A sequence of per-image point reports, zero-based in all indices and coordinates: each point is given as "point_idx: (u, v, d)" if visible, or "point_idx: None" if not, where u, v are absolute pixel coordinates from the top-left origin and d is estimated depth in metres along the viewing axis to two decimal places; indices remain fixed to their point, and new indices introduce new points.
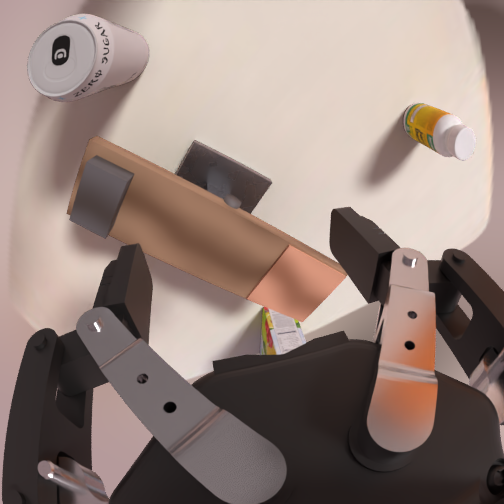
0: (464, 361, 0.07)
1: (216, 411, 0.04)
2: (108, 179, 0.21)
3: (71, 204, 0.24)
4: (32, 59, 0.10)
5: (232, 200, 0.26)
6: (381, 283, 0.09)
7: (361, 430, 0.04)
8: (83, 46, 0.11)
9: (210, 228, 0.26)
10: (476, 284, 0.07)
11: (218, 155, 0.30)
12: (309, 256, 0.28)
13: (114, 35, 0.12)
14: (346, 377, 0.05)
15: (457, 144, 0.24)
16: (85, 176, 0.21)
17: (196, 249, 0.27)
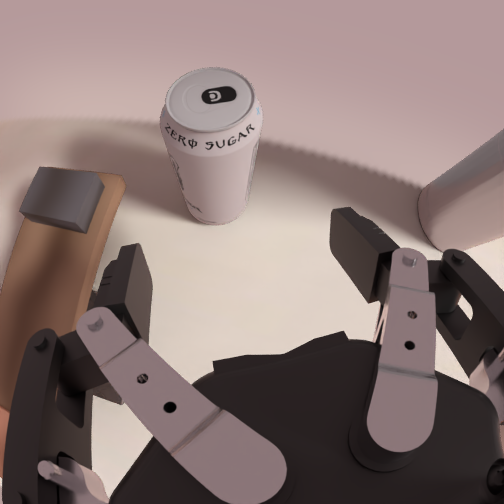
0: (464, 361, 0.07)
1: (216, 411, 0.04)
2: (77, 201, 0.17)
3: None
4: (209, 71, 0.14)
5: None
6: (381, 283, 0.09)
7: (361, 430, 0.04)
8: (224, 115, 0.14)
9: None
10: (476, 284, 0.07)
11: None
12: None
13: (241, 151, 0.15)
14: (346, 377, 0.05)
15: None
16: (81, 174, 0.18)
17: (18, 326, 0.16)
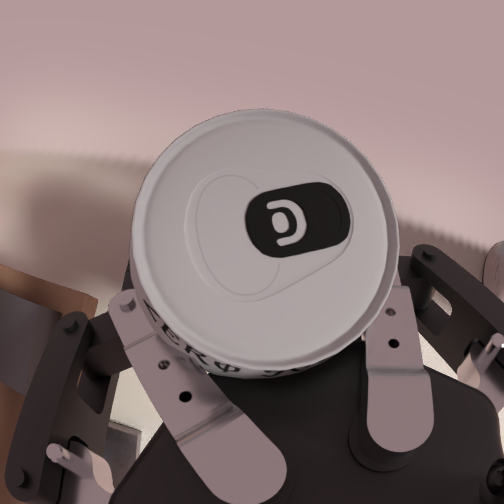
0: (447, 356, 0.07)
1: (230, 407, 0.04)
2: (20, 357, 0.08)
3: None
4: (260, 123, 0.05)
5: None
6: None
7: (361, 430, 0.04)
8: (324, 305, 0.05)
9: None
10: (452, 279, 0.07)
11: None
12: None
13: None
14: (346, 377, 0.05)
15: None
16: (18, 304, 0.09)
17: None
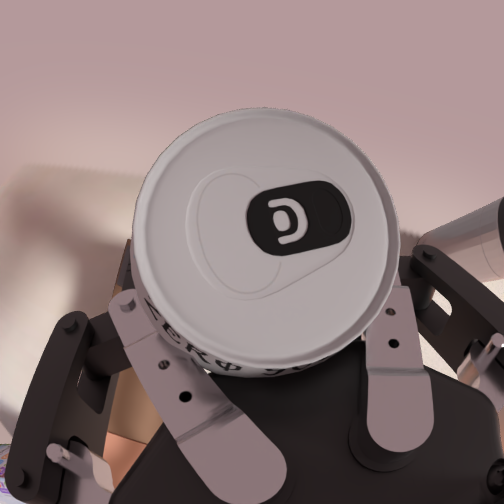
0: (447, 355, 0.07)
1: (230, 407, 0.04)
2: None
3: None
4: (261, 122, 0.05)
5: None
6: None
7: (361, 430, 0.04)
8: (325, 303, 0.05)
9: None
10: (452, 279, 0.07)
11: None
12: None
13: None
14: (346, 377, 0.05)
15: None
16: None
17: (124, 371, 0.25)
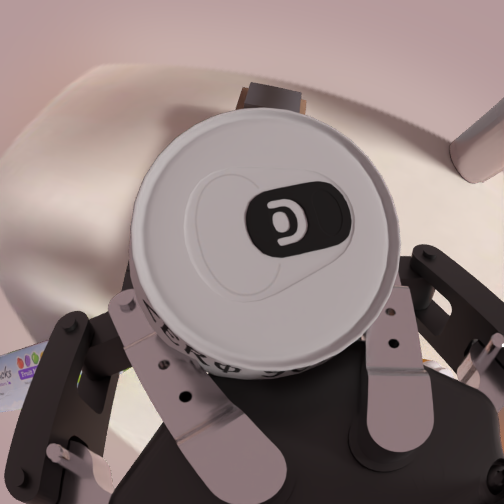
0: (447, 356, 0.07)
1: (230, 407, 0.04)
2: (295, 104, 0.29)
3: None
4: (260, 122, 0.05)
5: None
6: None
7: (361, 430, 0.04)
8: (325, 305, 0.05)
9: None
10: (452, 279, 0.07)
11: None
12: None
13: None
14: (346, 377, 0.05)
15: None
16: (290, 91, 0.30)
17: None
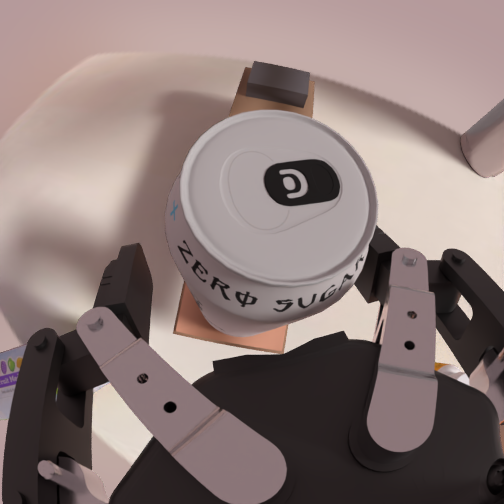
0: (464, 361, 0.07)
1: (216, 411, 0.04)
2: (303, 84, 0.26)
3: None
4: (273, 119, 0.07)
5: None
6: (381, 283, 0.09)
7: (361, 430, 0.04)
8: (323, 240, 0.06)
9: None
10: (476, 284, 0.07)
11: None
12: None
13: (335, 301, 0.08)
14: (346, 377, 0.05)
15: None
16: (298, 71, 0.26)
17: None
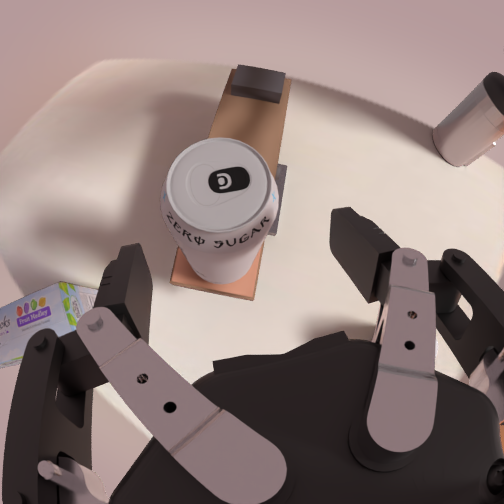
0: (464, 361, 0.07)
1: (216, 411, 0.04)
2: (278, 84, 0.31)
3: None
4: (217, 143, 0.13)
5: None
6: (381, 283, 0.09)
7: (361, 430, 0.04)
8: (236, 210, 0.13)
9: None
10: (476, 284, 0.07)
11: (283, 184, 0.39)
12: None
13: (253, 245, 0.14)
14: (346, 377, 0.05)
15: None
16: (275, 72, 0.31)
17: None
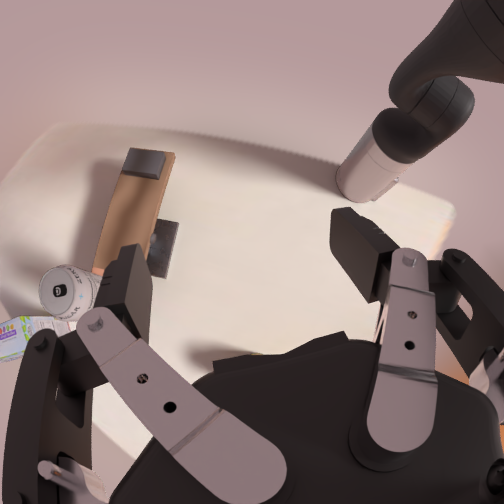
0: (464, 361, 0.07)
1: (216, 411, 0.04)
2: (156, 164, 0.42)
3: None
4: (56, 270, 0.25)
5: (154, 237, 0.43)
6: (381, 283, 0.09)
7: (361, 430, 0.04)
8: (61, 305, 0.24)
9: (135, 228, 0.42)
10: (476, 284, 0.07)
11: (173, 238, 0.50)
12: None
13: (77, 317, 0.26)
14: (346, 377, 0.05)
15: None
16: (156, 152, 0.42)
17: (120, 224, 0.41)
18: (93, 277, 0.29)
